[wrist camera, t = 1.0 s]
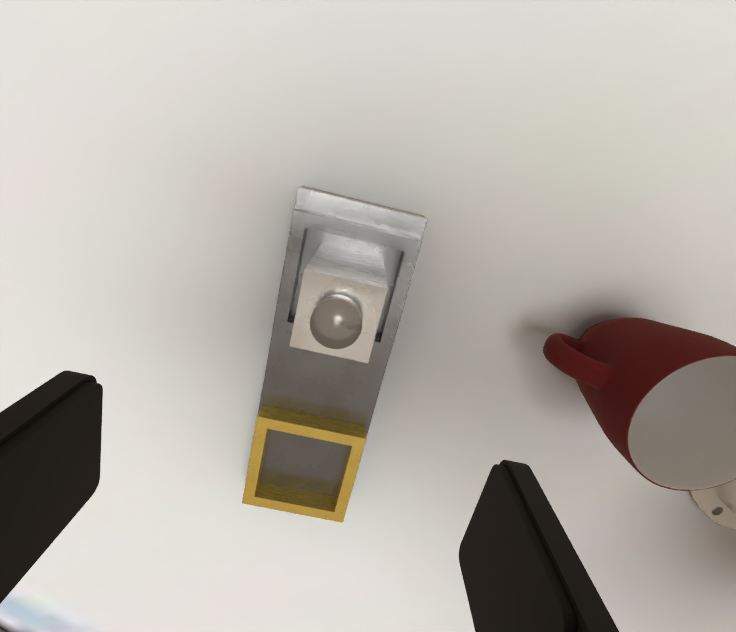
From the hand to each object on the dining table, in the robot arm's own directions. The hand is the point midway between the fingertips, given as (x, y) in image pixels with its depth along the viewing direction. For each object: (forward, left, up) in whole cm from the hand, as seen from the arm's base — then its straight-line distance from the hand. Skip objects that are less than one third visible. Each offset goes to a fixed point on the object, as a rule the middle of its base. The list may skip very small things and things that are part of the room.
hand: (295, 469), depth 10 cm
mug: (-18, +1, -20) cm, 27 cm away
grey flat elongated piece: (0, +7, -20) cm, 21 cm away
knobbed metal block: (0, 0, -18) cm, 18 cm away
